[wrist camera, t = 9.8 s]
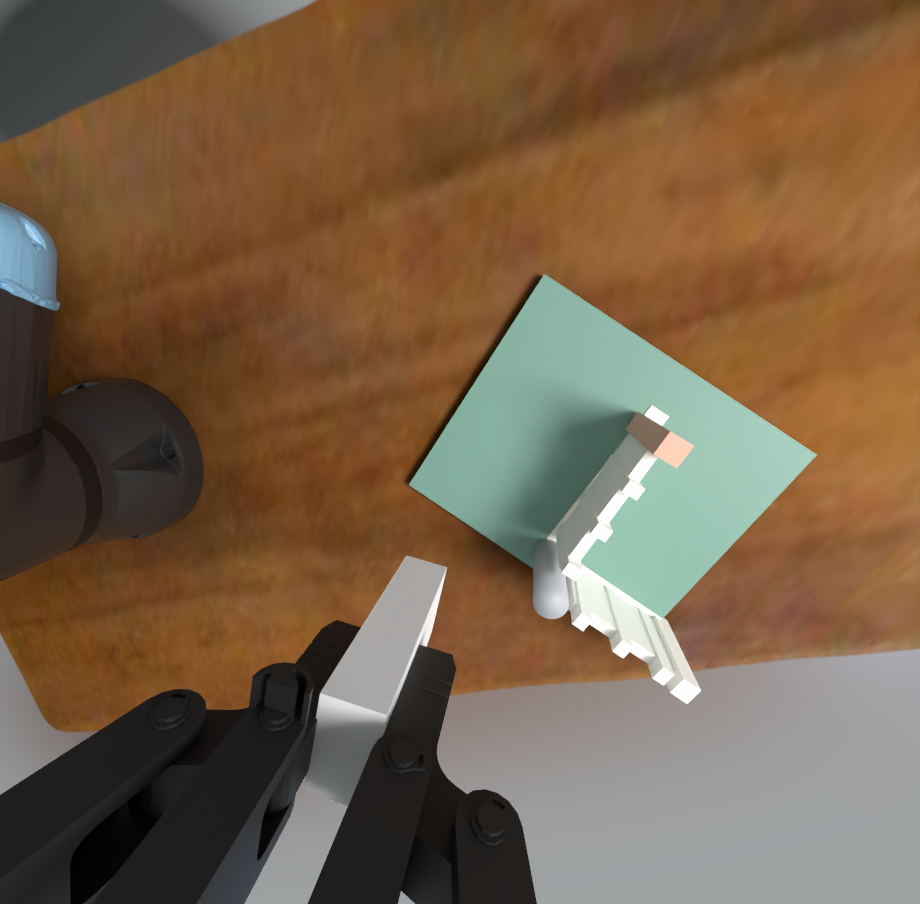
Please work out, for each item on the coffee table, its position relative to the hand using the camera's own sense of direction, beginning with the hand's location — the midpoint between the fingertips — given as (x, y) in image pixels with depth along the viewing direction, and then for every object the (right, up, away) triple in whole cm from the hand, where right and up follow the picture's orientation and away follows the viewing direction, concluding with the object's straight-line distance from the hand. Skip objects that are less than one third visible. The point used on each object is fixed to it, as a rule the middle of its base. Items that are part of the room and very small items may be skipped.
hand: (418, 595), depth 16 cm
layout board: (+12, +4, +20) cm, 24 cm away
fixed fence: (+13, -6, +22) cm, 27 cm away
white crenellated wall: (+13, +3, +19) cm, 23 cm away
